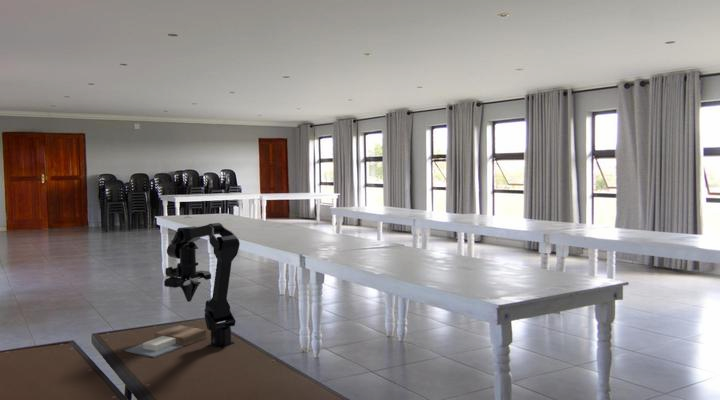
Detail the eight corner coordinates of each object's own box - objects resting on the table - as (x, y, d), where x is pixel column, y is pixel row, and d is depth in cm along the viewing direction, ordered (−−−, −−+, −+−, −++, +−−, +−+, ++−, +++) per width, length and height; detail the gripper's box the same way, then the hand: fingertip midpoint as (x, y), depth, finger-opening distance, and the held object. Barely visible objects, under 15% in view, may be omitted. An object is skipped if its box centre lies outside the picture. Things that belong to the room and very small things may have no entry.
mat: (183, 346, 200) (183, 345, 200) (154, 357, 189) (154, 356, 189) (154, 341, 207) (154, 339, 207) (125, 351, 195) (125, 350, 195)
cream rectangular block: (175, 343, 202) (175, 338, 202) (155, 351, 194) (155, 345, 194) (163, 341, 205) (163, 335, 205) (143, 348, 197) (143, 342, 197)
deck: (206, 337, 210) (205, 329, 210) (183, 346, 200) (183, 338, 200) (178, 332, 216) (177, 325, 216) (155, 340, 207) (155, 332, 207)
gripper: (190, 255, 227) (191, 294, 228) (152, 262, 210) (154, 304, 211) (211, 257, 221) (212, 297, 222) (175, 264, 205) (176, 308, 206)
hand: (189, 301), depth 216 cm, fingers closed
